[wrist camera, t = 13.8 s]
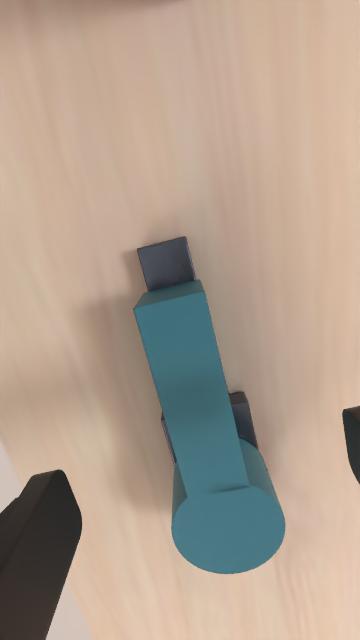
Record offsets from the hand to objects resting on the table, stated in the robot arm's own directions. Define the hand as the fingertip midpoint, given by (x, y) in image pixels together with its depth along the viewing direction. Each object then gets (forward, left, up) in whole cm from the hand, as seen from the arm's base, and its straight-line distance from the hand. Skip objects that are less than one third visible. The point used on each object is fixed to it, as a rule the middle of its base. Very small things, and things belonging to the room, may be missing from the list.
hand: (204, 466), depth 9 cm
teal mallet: (+3, 0, -8) cm, 8 cm away
